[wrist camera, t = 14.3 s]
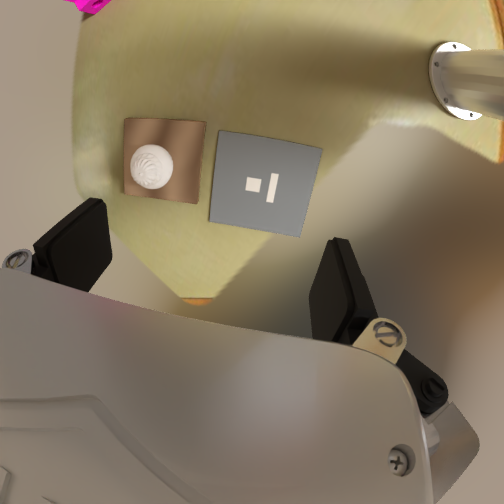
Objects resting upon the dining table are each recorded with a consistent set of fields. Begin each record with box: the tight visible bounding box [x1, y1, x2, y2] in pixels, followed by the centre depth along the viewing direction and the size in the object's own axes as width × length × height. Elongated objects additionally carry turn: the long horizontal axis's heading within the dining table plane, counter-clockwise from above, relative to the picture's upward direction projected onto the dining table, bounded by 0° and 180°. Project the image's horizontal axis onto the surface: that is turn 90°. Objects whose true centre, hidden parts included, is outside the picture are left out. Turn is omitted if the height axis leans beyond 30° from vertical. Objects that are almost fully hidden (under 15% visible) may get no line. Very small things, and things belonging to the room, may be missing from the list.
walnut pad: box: [124, 118, 206, 204], centre depth 37 cm, size 12×12×1 cm
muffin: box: [130, 145, 173, 189], centre depth 33 cm, size 6×6×7 cm
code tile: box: [209, 131, 322, 237], centre depth 38 cm, size 14×14×1 cm
